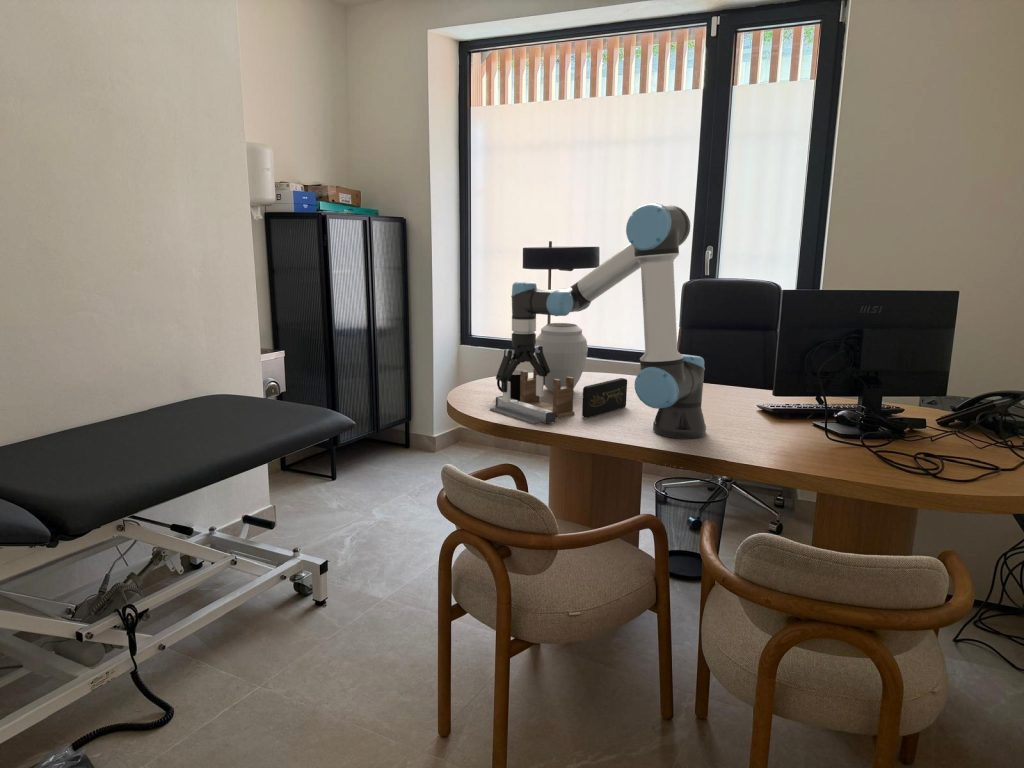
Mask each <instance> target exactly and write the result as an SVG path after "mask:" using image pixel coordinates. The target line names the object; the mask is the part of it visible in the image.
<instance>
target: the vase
mask: <svg viewBox="0 0 1024 768" xmlns="http://www.w3.org/2000/svg"><path fill="white" fill-rule="evenodd" d="M540 331H541V332H540V334H538V336H537V337H536V344H535V345H534V346H536V345H538V346H542V347H543V354H544V357H545V359H546V362H547V364H548V367H549V369H550V373H547V376H545V385H544V387H545V388H546V389H547V390H548V391H549V392H551V393H553V379H559V380H561V387H565V386H566V377H572V378H574V388H575V387H576V386H577V384H578V382H579V381H580V380H581V377H582V374H583V372H584V369H585V367H586V361H587V358H588V357H587V356H588V352H589V349H588V340H587V337H585V336H584V334H583V329H582V328H581V327H580V326H578V325H577V324H575V323H568V322H552V323H547V324H545V325H543V327H541V328H540ZM534 356H535V357H536V359H537V356H536V354H535V353H534ZM537 361H538V359H537ZM538 363H539V361H538Z"/></svg>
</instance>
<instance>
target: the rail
mask: <svg viewBox="0 0 1024 768" xmlns="http://www.w3.org/2000/svg"><path fill="white" fill-rule="evenodd" d="M495 407H500V408H503V409H506V410H509V411H512V412H515V413H518V414H521V415H524V416H527V417H530V418H533V419H536V420H539V421H542V422H545V423H544V424H552V423H556V420H555V418H556V417H555V414H556V412H554V411H550V410H546V409H543V408H540V407H537V406H534V405H530V404H527V403H524V402H521V401H517V400H514V399H511V398H510V403H507V402H503V395H501V396H496V397H495Z"/></svg>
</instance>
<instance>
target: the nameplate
mask: <svg viewBox="0 0 1024 768" xmlns="http://www.w3.org/2000/svg"><path fill="white" fill-rule="evenodd" d="M627 390H628V380H627V378H623V377H619V378H615V379H610V380H607V381H603V382H598V383H594V384H590V385H586V386H583V387H582V402H581V403H582V408H581V411H582V412H581V416H582V417H583V418H586V419H589V418H590V419H591V418H592V417H597V416H599V415H600V416H601V415H604V414H607V413H611V412H615V411H617V410H622V409H625V408H626V406H627V393H628V391H627Z"/></svg>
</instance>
